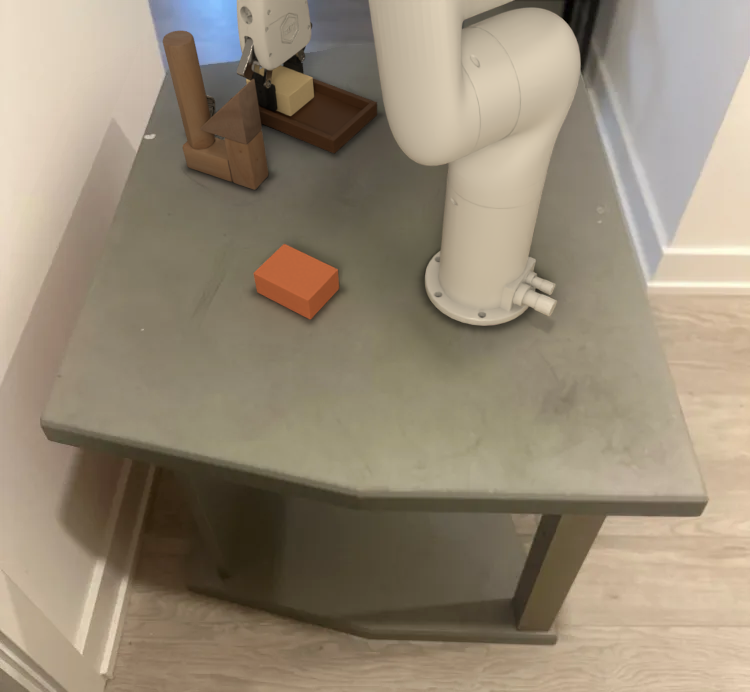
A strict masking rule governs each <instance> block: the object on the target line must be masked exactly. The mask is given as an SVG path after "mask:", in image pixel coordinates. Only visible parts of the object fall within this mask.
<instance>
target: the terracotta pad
mask: <svg viewBox="0 0 750 692" xmlns="http://www.w3.org/2000/svg"><path fill="white" fill-rule="evenodd" d="M253 279H254V282H255V283H254V284H255V288H256V292H257V294H260V295H261V296H264V297H266V298H268V299H270V300H271V301H273V302H275V303H277V304H279V305H281V306H283V307H285V308H287V309H289V310H291V311H293V312H294V313H297V314H298V315H300V316H302V317H304V318H306V319H308V320H312V319H313V318H314V317H315V316H316V314H317V313H318V312H319V311H320V310H321V309H322V308H323V307H324V306H325V305H326V303H328V302H329V300H331V298H332V297H333V296H334V295H335V294H336V293H337V292H338V291H339V290H340V280H339V269H338V268H336V267H334V266H332V265H330V264H327V263H326V262H324V261H321V260H320V259H318V258H315V257H313V256H311V255H308V254H306V253H305V252H303V251H300V250H298V249H297V248H294V247H292V246H290V245H288V244H286V243H283V244H282V245H280V247H279V248H278V249H277V250H276V251H275V252H274V253H272V254H271V256H270V257H268V258H267V259H266V260H265V261H264V262H263V263H262V264H261V265H260V266H259V267H258V268H257V269H255V271H253Z"/></svg>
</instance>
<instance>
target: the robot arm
mask: <svg viewBox="0 0 750 692" xmlns="http://www.w3.org/2000/svg"><path fill="white" fill-rule="evenodd" d="M367 1H368V7H369V8H368V9H369V15H370V20H371V21H370V22H371V29H372V34H373V35H372V36H373V43H374V49H375V55H376V62H377V70H378V76H379V84H380V89H381V96H382V103H383V107H384V112H385V116H386V119H387V123H388V126H389V129H390V132H391V134H392V136H393V138H394V140H395V142H396V144H397V146H398V147H399V149H400V150H401V151H402V152H403V154H405V156H406V157H408V158H409V159H410V160H411V161H413V162H414V163H417V164H419V165H422V166H426V167H437V166H443V165H446V164H447V165H448V166H447V174H446V184H445V185H446V186H445V196H444V206H443V207H444V209H443V218H442V219H443V221H442V232H441V243H440V250H439V251H437V253H435V254H434V255H433V257H432V258H430V260H429V261H428V264H427V266H426V269H425V275H424V288H425V292H426V295H427V297H428V299H429V301H431V303H432V304H433V305H434V307H435V308H437V310H438V311H440V312H441V313H442V314H444V315H445V316H447V317H449V318H451V319H452V320H455V321H457V322H461V323H463V324H468V325H472V326H481V327H484V326H485V327H486V326H496V325H500V324H505V323H508V322H510V321H513V320H515V319H516V318H518V317H520V316H522V314H524V313H525V311H527V310H528V308H532V309H533V310H534V311H536V312H537V313H540V314H543V315H545V316H547V317H551V316H552V314H553V312H554V311H555V309H556V306H557V304H558V300H557V299H555V298H552V297H550V296H551V295H552V294H553V292H554V291H555V288H556V284H557V283H554V282H552V281H550V280H548V279H545V278H542V277H540V276H538V273H537V272H535V265H536V262H537V259H536V258H534V257H532V256H529V255H530V251H531V245H532V242H533V237H534V232H535V229H536V228H535V227H536V224H537V219H538V214H539V210H540V204H541V200H542V195H543V191H544V188H545V185H546V181H547V180H546V179H547V174H548V170H549V166H550V162H551V159H552V155H553V152H554V148H555V146H556V142H557V138H558V136H559V134H560V131H561V129H562V127H563V125H564V122H565V120H566V118H567V116H568V113H569V111H570V108H571V107H572V104H573V102H574V99H575V96H576V93H577V89H578V86H579V82H580V81H579V80H580V76H581V67H582V65H581V61H582V60H581V52H580V46H579V43H578V41H577V40H578V39H577V37H576V35H575V33H574V31H573V29H572V28H571V27H570V25H569V23H567V21H565V20H564V19H563V18H562V17H561V16H559V15H558V14H557V13H555V12H553V11H551V10H549V9H545V8H541V7H529V6H528V7H521V8H514V9H510V10H507V11H504V12H501V13H497V14H495V15H492V16H490V17H488V18H485V19H482V20H480V21H478V22H475V23H473V24H469V25H467V26H465V27H463V23H464V21H465V20H469V19H470V18H473V17H476V16H478V15H481V14H483V13H485V12H488V11H491V10H494V9H496V8H498V7H501V6H503V5H506V4H509V3H511V2H513V1H514V0H367ZM236 19H237V31H238V39H239V40H238V41H239V45H240V52H241V56H240V60H239V63H238V65H237V69H236V75H238V76H240V77H242V78H244V79H245V80H246V79H248V80H250V81H251V80H252V79H254V80H255V87H256V93H257V100H258V105H259V106H262V107H264V108H267V109H269V110H272V111H276V110H277V109H278V107H277V99H276V89H275V85H274V84H271V82H272V72H273V70H274V69H276V68H277V67H279V66H280V65H281V66H283V67H286V68H289V69H291V70H294V71H297V72H299V73H302V74H305V71H304V63H303V62H304V61H305V59H306V53H305V50H306V47H307V45H308V44H309V43H310V42H311V39H312V30H313V23H312V22H311V15H310V8H309V1H308V0H236ZM261 68H264V76H262V75H261V74H259V70H260V69H261ZM536 289H537V290H539V291H540V292H541V293H539V292H537V291H536ZM543 293H544V294H543ZM546 294H547V295H546ZM548 295H549V296H548Z"/></svg>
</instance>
